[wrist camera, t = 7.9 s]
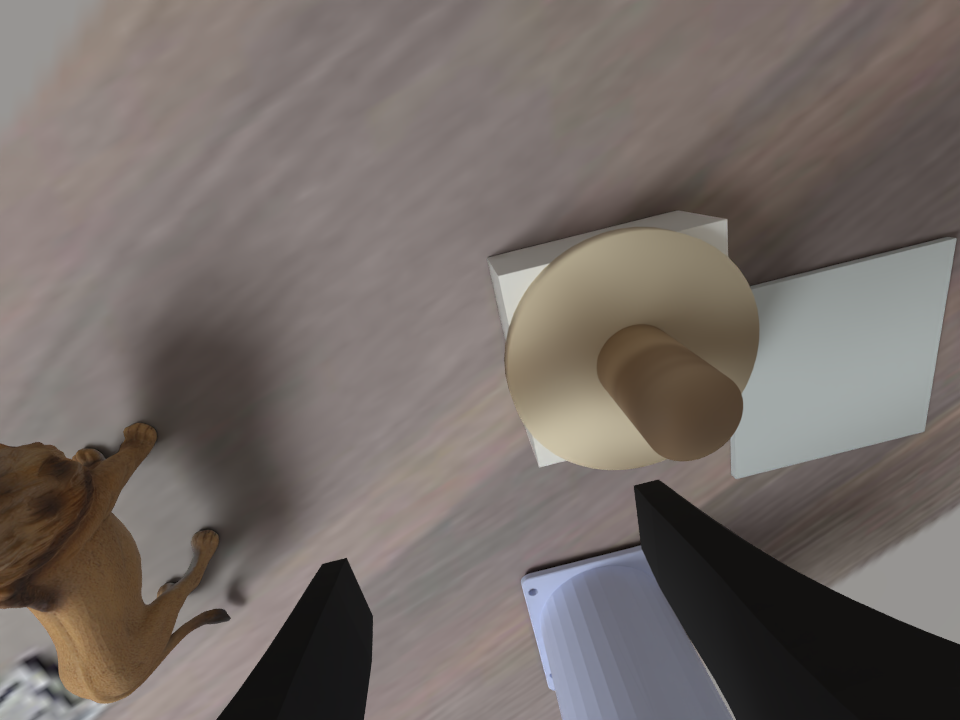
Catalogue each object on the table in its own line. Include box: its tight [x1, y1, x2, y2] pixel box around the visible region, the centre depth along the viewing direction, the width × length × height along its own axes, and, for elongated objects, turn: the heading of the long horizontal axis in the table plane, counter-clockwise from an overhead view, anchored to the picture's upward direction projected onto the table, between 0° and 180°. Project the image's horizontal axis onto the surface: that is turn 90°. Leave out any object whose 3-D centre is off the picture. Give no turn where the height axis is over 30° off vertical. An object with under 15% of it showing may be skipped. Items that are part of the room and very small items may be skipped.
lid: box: [504, 227, 760, 470], centre depth 15 cm, size 9×9×5 cm
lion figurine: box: [0, 423, 231, 703], centre depth 18 cm, size 15×5×9 cm, turn 20°
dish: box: [487, 210, 728, 467], centre depth 19 cm, size 8×8×4 cm
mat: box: [731, 237, 957, 479], centre depth 23 cm, size 10×10×1 cm
